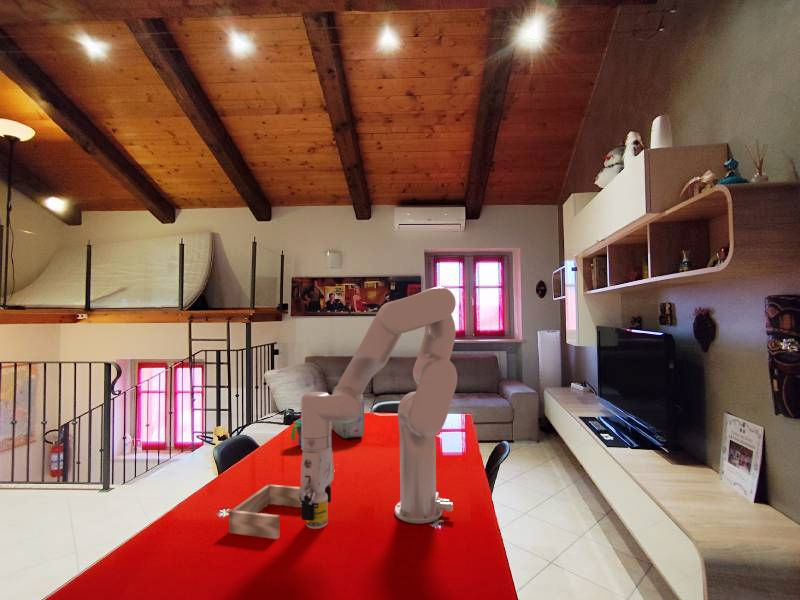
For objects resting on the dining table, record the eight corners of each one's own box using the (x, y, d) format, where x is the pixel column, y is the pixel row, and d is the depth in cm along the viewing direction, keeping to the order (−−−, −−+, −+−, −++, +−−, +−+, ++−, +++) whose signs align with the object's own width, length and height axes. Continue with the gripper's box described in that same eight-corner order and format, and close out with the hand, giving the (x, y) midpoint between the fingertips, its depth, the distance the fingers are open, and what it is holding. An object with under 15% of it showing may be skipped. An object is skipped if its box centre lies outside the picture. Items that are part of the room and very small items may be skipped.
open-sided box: (309, 506, 111) (309, 488, 112) (277, 539, 95) (277, 517, 95) (267, 502, 115) (267, 484, 115) (229, 532, 98) (229, 511, 98)
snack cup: (317, 438, 176) (317, 415, 177) (331, 443, 169) (331, 419, 169) (284, 446, 165) (284, 421, 166) (297, 452, 158) (297, 426, 158)
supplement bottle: (306, 531, 99) (306, 490, 99) (305, 520, 104) (305, 482, 104) (328, 527, 100) (328, 488, 100) (326, 517, 105) (326, 480, 106)
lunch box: (327, 427, 194) (327, 383, 195) (348, 425, 199) (347, 381, 200) (343, 442, 170) (343, 391, 171) (366, 439, 174) (366, 389, 176)
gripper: (315, 453, 94) (315, 529, 93) (342, 433, 110) (343, 497, 109) (285, 451, 95) (286, 525, 94) (317, 431, 112) (318, 494, 111)
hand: (316, 510), depth 102 cm, fingers open, 9 cm apart
